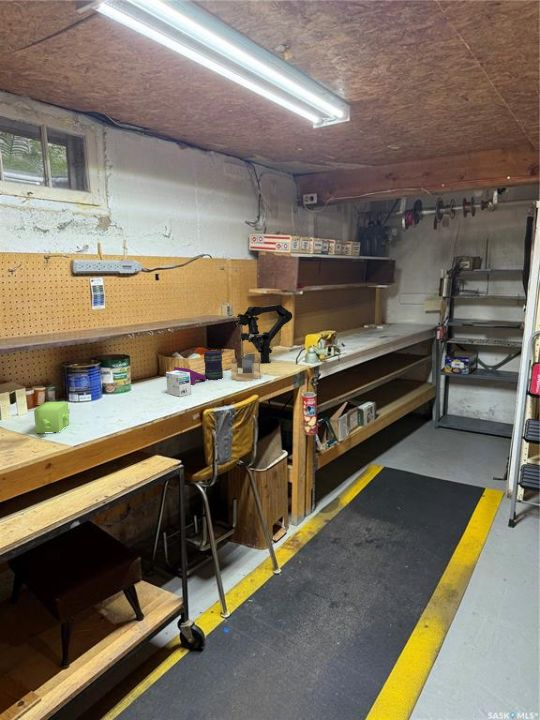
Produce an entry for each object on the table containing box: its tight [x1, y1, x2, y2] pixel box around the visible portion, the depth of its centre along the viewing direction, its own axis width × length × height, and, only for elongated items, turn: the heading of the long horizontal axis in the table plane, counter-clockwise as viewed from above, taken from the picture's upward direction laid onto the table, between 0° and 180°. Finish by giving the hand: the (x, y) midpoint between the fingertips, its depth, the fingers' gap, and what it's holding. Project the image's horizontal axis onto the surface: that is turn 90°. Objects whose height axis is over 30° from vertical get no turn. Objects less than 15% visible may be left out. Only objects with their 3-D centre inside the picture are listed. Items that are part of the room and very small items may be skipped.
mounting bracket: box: [172, 366, 207, 386], centre depth 245 cm, size 9×8×18 cm
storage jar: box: [203, 349, 224, 381], centre depth 254 cm, size 10×10×15 cm
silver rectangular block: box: [241, 353, 256, 373], centre depth 264 cm, size 20×5×10 cm, turn 177°
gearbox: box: [33, 401, 71, 434], centre depth 174 cm, size 18×10×10 cm, turn 4°
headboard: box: [230, 357, 261, 382], centre depth 248 cm, size 6×15×12 cm, turn 86°
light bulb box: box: [165, 370, 192, 397], centre depth 222 cm, size 11×7×11 cm, turn 47°
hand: (257, 348), depth 282 cm, fingers closed
